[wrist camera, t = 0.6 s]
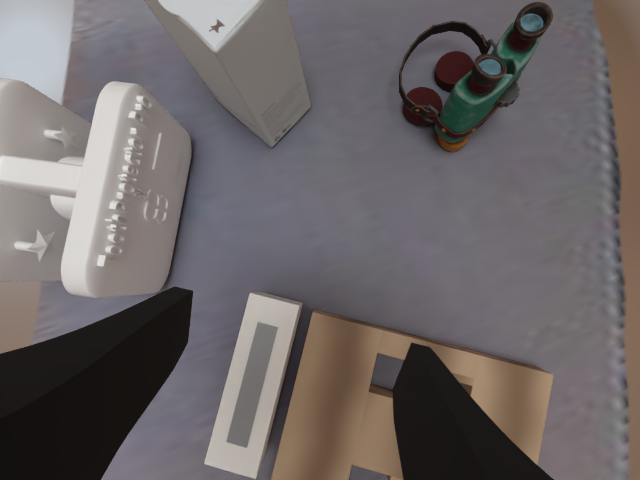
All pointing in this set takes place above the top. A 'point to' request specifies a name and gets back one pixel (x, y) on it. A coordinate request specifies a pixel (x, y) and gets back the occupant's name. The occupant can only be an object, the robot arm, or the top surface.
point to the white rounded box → (90, 190)
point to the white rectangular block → (254, 384)
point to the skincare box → (242, 58)
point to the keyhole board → (389, 400)
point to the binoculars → (475, 77)
